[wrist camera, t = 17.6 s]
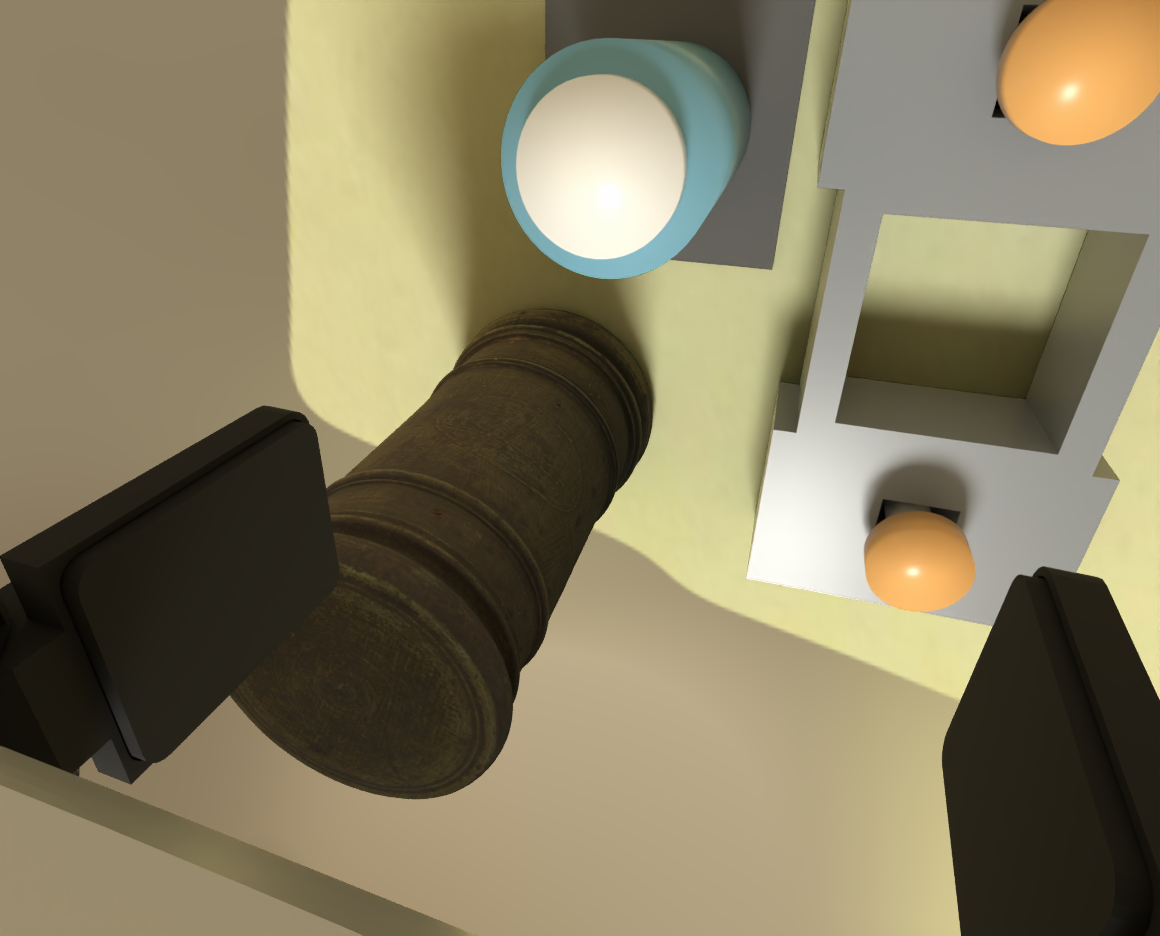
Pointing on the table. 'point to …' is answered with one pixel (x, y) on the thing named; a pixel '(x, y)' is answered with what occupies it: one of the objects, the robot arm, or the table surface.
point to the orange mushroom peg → (917, 559)
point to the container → (455, 559)
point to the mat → (773, 85)
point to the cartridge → (622, 151)
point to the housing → (940, 416)
